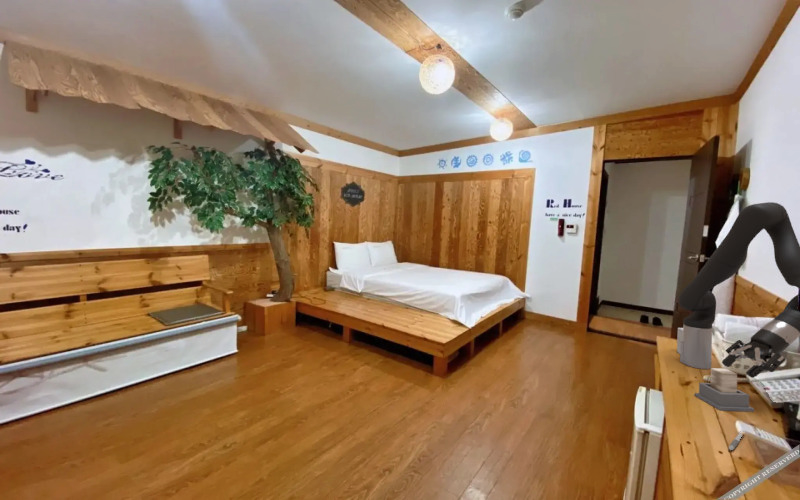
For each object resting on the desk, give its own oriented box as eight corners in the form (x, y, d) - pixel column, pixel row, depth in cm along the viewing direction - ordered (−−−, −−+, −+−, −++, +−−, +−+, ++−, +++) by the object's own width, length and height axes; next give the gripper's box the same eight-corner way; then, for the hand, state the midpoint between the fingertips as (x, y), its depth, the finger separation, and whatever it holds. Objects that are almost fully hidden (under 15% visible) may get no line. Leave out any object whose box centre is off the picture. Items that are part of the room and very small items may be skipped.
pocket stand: (694, 395, 114) (694, 381, 114) (725, 396, 113) (725, 382, 113) (720, 410, 104) (720, 395, 104) (753, 411, 103) (754, 396, 103)
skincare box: (681, 355, 154) (681, 329, 153) (676, 351, 158) (676, 327, 157) (697, 356, 152) (697, 330, 151) (691, 353, 156) (692, 328, 156)
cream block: (710, 396, 111) (711, 368, 111) (724, 397, 111) (724, 368, 110) (721, 403, 107) (722, 373, 106) (736, 403, 106) (737, 373, 106)
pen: (745, 435, 91) (745, 431, 91) (732, 454, 84) (732, 449, 84) (740, 434, 92) (740, 429, 92) (727, 452, 85) (727, 447, 84)
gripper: (745, 323, 114) (709, 354, 115) (790, 335, 100) (749, 370, 101) (761, 338, 114) (725, 369, 115) (808, 352, 100) (766, 387, 101)
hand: (736, 370), depth 108 cm, fingers open, 8 cm apart
